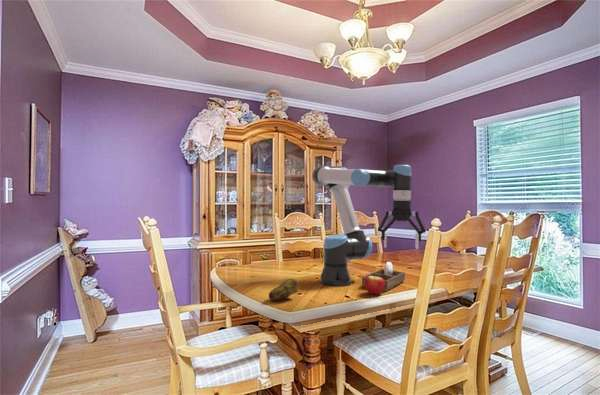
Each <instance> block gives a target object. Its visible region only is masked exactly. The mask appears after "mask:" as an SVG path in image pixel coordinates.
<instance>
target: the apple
mask: <svg viewBox="0 0 600 395" xmlns="http://www.w3.org/2000/svg"><path fill="white" fill-rule="evenodd" d="M371 273H372V274H373V272H372V270H370V274H371ZM365 287H366V288H365V289H366V291H367V292H368V293H369V294H371V295H374V294H377V295H380V294H381V293H382V292H384V291H383V289H384V279H383V278H380V277H376V276H374V275H373V276H368V277H366V278H365Z"/></svg>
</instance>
